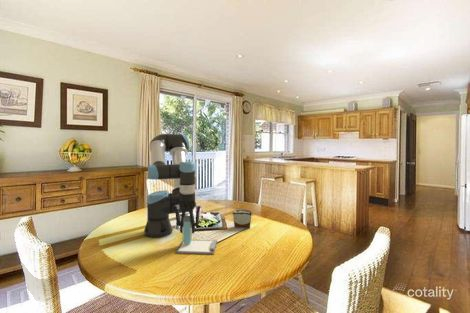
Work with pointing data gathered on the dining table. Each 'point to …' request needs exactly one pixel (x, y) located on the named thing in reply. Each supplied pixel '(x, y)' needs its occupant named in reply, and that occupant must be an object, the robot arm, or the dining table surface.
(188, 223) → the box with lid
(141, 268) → the dining table surface
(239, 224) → the food container
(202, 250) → the clipboard
